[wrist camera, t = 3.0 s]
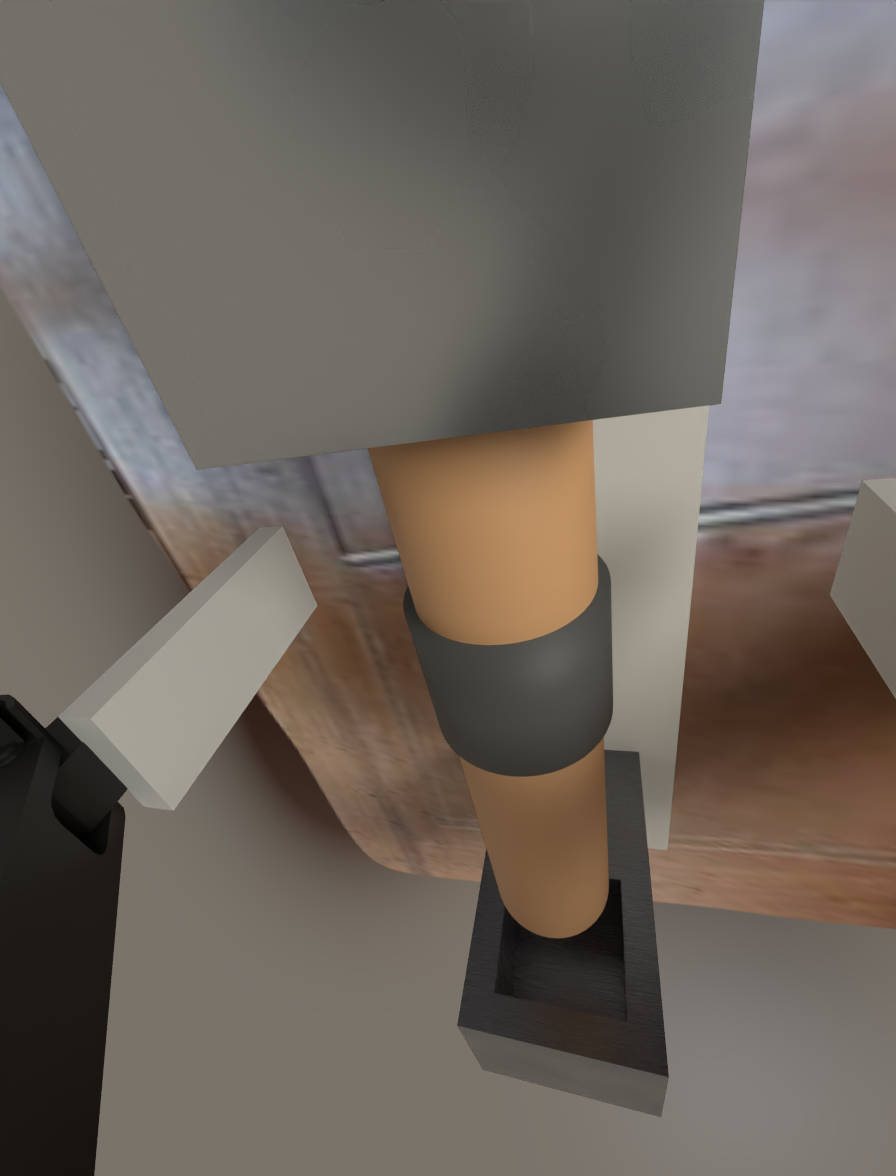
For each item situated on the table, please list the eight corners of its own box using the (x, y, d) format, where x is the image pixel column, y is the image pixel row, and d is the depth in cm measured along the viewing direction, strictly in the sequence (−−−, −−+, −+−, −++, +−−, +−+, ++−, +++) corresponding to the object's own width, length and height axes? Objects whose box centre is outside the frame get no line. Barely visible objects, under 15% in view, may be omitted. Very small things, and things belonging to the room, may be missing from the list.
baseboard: (220, -342, 9) (164, -425, 8) (793, -756, 6) (839, -978, 5) (500, 805, 29) (496, 830, 28) (664, 822, 27) (667, 850, 26)
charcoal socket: (503, 743, 23) (457, 1025, 15) (638, 751, 22) (668, 1077, 13) (516, 803, 26) (483, 1069, 18) (637, 815, 24) (660, 1117, 16)
